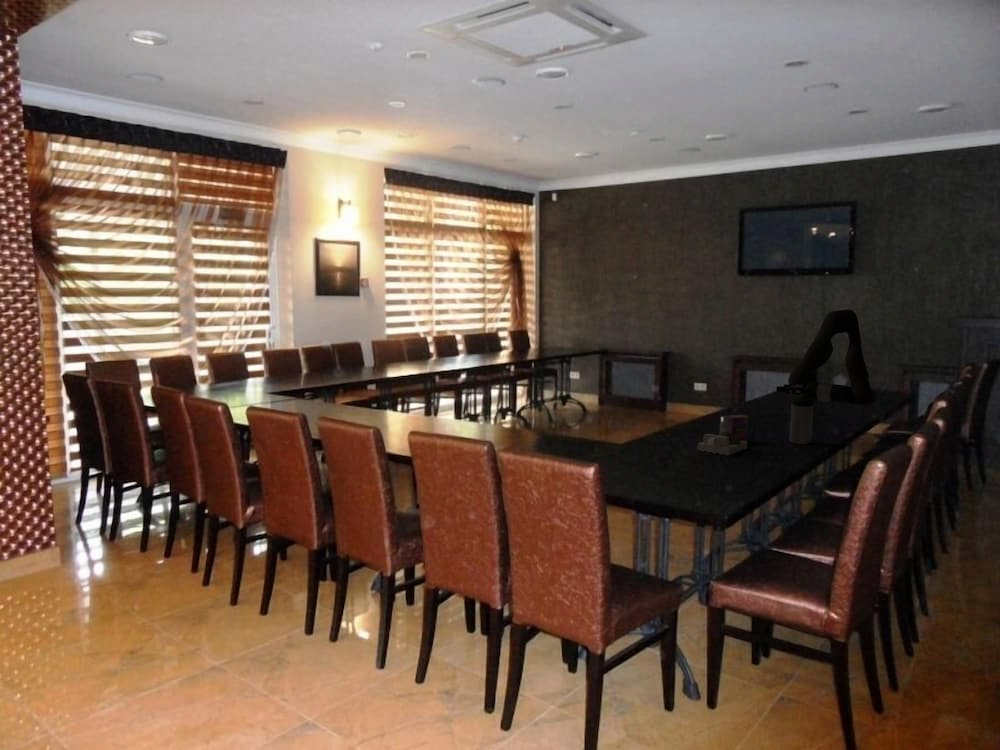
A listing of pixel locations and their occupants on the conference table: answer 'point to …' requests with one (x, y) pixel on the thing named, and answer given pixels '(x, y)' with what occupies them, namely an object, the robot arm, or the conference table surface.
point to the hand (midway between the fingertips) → (780, 387)
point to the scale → (721, 444)
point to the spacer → (726, 426)
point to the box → (740, 427)
